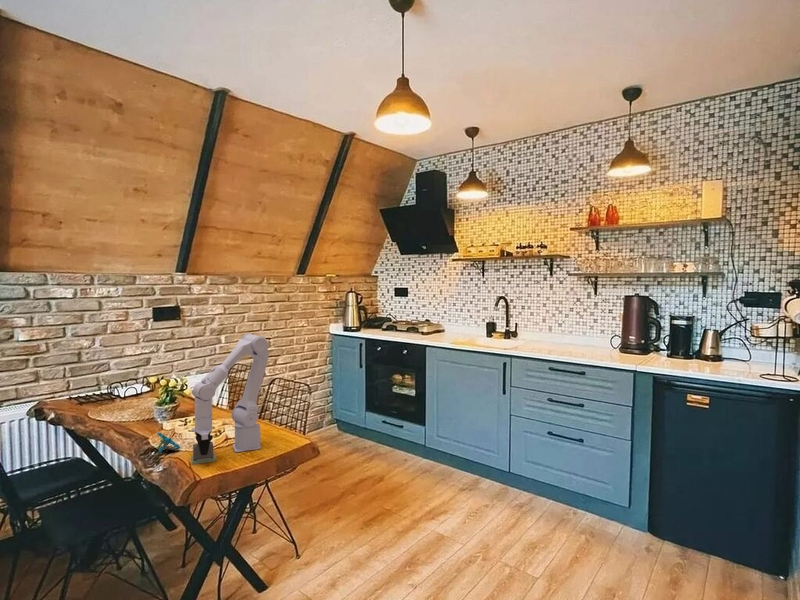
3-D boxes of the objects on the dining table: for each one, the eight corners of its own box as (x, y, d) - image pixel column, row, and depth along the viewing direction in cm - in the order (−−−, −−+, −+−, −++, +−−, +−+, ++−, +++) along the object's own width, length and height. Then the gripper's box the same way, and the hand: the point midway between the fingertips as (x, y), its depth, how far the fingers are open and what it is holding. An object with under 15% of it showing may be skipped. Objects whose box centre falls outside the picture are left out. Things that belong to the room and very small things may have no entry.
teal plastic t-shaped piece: (185, 447, 173) (164, 432, 169) (174, 461, 170) (152, 447, 166) (176, 442, 182) (155, 428, 177) (165, 456, 179) (144, 442, 174)
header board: (214, 454, 171) (214, 447, 171) (216, 461, 166) (216, 453, 166) (191, 458, 168) (191, 450, 167) (191, 464, 162) (191, 456, 162)
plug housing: (212, 453, 170) (212, 441, 169) (213, 457, 166) (213, 445, 166) (192, 456, 167) (192, 444, 166) (193, 460, 164) (193, 447, 163)
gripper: (190, 411, 170) (190, 446, 171) (192, 423, 157) (192, 461, 158) (211, 409, 173) (211, 444, 174) (214, 420, 161) (214, 458, 161)
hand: (203, 452), depth 167 cm, fingers closed on plug housing, 4 cm apart
